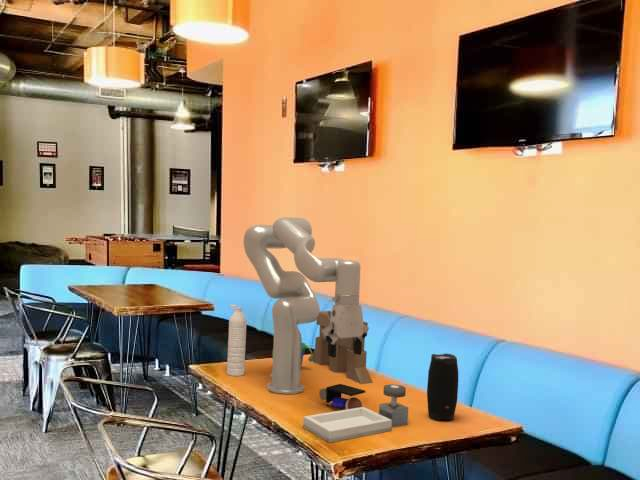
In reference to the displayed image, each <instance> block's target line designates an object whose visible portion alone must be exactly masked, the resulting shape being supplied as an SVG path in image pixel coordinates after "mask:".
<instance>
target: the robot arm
mask: <svg viewBox="0 0 640 480" xmlns="http://www.w3.org/2000/svg"><path fill="white" fill-rule="evenodd" d="M312 228H313V227H312V225H311V223H310V222H309V221H308V220H307V219H306V218H303V217H289V216H287V217H286V216H283V217H280V218H278V219H276V220H275V221H274V222H273V224H255V225H253V226H249V228H247V229H246V231H245V232H244V236H243V248H244V252H245V255H246V257H247V258H248V260H249V262H250V263H251V264H252V266H253V268H254V270H255V271H256V274H257V276H258V278H259V280H260V282H261V284H262V287H263V289H264V290H265V292H266V294H267V296H269V298H271V299H276V300H275V302H274V303H273V305H272V309H271V314H272V321H273V347H272V351H273V359H272V371H271V372H272V373H270V374H269V377H270V379H271V382H269V383H267V384H266V385H267V386H266V389H267V390H268V392H271V393H275V394H282V395H293V394H299V393H302V392H303V391H304V390H305V385H304V384H302V383H300V381H301V380H300V378H301V369H300V364H301V342H302V333H301V331H300V329H299V327H298V325H303V324H310V323H313V322H316V321H317V318H318V317H319V314H320V311H321V310H320V308H321V307H320V305H319V302H318V299H317V297H316V295H315V293H314V291H313V289H312V288H311V286H310V284H309V282H308V281H311V282H314V283H335V285H334V296H332V298H331V300H332V302H334V303H333V304H332V307H331V311H332V312H331V318H330V325H328V326H327V327H325V328H324V329H322V334H323V336H324V339H325V340H326V341H327V343H328V356H330V357H333V358H335V357H336V344H335V342H336V341H337V339H338V338H353V337H354V338H355V339H356V340H355V341H354V353H355V354H358V355H361V350H362V342H363V341H364V338H365V339H366V337H367V336H368V332H369V329H370V327H369V325H368V326H366V325H364V324H363V321H364V316H363V308H362V305H361V304H360V290H361V289H360V288H361V285H360V283H361V263H360V262H359V261H357V260H348V259H342V258H338V257H337V258H336V257H323V258H322V257H316V256H315V255H314V254H312V252H313V251H314V249H315V246H316V241H315V238H314V237H313V236H312V234H313V229H312ZM268 249H277V250H278V249H279V250H280V249H288V250H289V251H290V253H292V254H293V260H294V263H295V267H296V269H297V270H298V271H299V272H298V271H293V270H289V271H288V270H284V269H283V268H282V266H281V265H280V263H279V261H278V259H277V258H276V256H274V254H273V253H272V252H270V251H269V250H268ZM329 331H330V336H329V335H328V332H329ZM366 335H367V336H366ZM302 343H303V342H302Z"/></svg>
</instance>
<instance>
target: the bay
mask: <svg viewBox="0 0 640 480" xmlns="http://www.w3.org/2000/svg"><path fill="white" fill-rule="evenodd" d="M302 428H304V429H305V430H307V431H309V432H310V433H312V434H314V435H315V436H317V437H318V438H320V439H322V440H324V441H326V442H327V443H329V444H330V443H336V442H340V441H345V440H350V439H351V440H352V439H356V438H361V437H365V436H370V435H375V434H382V433H386V432H392V430H393V429H392V428H393V427H392V420H391V419H389V418H386V417H384V416H382V415H380V414H379V412H378V413H377V412H375V411H373V410H371V409H369V408H367V407H365V406H362V407H359V408H353V409H347V410H346V409H341V410H336V411H330V412H323V413H318V414H312V415H306V416H303V418H302Z"/></svg>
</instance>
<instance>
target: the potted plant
mask: <svg viewBox="0 0 640 480" xmlns="http://www.w3.org/2000/svg"><path fill="white" fill-rule="evenodd" d="M306 349H308V350H309V353H310V356H311V358H310V357H309V358H310V360H309V362H310V363H311V362H312V361H311V360H312V353H313V351H312V349H311V347H310V346H308V345H307V344H306V343H304V342H301V364H300V370H302V365H303V361H304V355H305V353H306V352H305V351H306ZM271 351H272V352H271V359H272V360H273V350H271Z"/></svg>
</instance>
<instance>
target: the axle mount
mask: <svg viewBox="0 0 640 480" xmlns="http://www.w3.org/2000/svg"><path fill="white" fill-rule="evenodd" d="M378 405H379V406H378V407H379V408H378V414H380V415H382V416H384V417H386V418H389V419H391V420H392V428H394V427H395V428H396V427H400V426H406V425H408V423H409V407H408V406H406V405H404V404H401V403H399V402H397V407H394V408H393V407H391V401H390V402H384V403H379V404H378Z"/></svg>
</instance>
